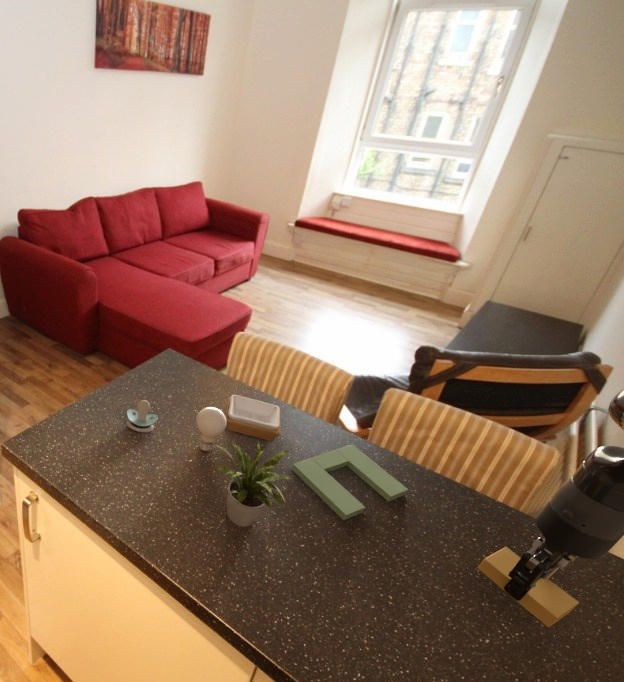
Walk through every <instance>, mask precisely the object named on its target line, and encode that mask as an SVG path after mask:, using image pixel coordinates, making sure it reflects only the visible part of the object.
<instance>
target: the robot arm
mask: <svg viewBox="0 0 624 682" xmlns="http://www.w3.org/2000/svg"><path fill="white" fill-rule="evenodd" d="M608 414H609V417H610V418H611V420H612V421H613V422H614V423H615V424H616V425H617V426H618V427H619V428H620V429H622V430H623V431H624V388H623V389H622V390H620V391H619V392H618V393H616V395H614V397H613V398H612V399H611V401H610V403H609V406H608ZM535 524H536V527H537V528H538V530H539V532H540V533H541V534H542V535H543V538H542V537H541V536H540V537H538V538H537V539H536V540H535V541H534V542H533V543H532V544H531V548H530V549H529V550H528V551H525V552H524V553H522V555H521V556H520V558H521V559H520V560H519V561H518V563H517V564H516V565H515V567H514V568H513V569H512V571H510V572H509V575H508V576H509V577H510V578H511V580H510V581H509V582H508V583H507V584H506V585H505V587H504V590H505V591H506V592H507V593H506V592H505V591H504V590H503V591H504V592H505V593H506V594H507V595H508V596H510V597H511V596H512V597H513V598H512V597H511V598H512V599H514V600H515V601H516V600H517V601H520V600H521V599H523V597H524V596H525V595H526V594H527V593H528V592H529V591H530V590H531V589H532V588H535V587H536V586H537V585H536V584H537V583H538V582H539V581H540V580H541V579H549V580H550V581H551V579H552V578H553V577H554V575H555V574H556V573H557V572H559V571H562V570H564V568H565V569H566V568H568V567H569V566H570V565H572V564H573V563H574V562H575V561H576V560H578V559H579V558H581V559H586V560H599V559H602V558H604V556H606V555H607V554H608V552H610V550H611V549H612V548H613V547H615V545H616V544H617V543H618V542H619V541H620V540H621V539H622V538H623V537H624V447H621V446H618V445H617V446H616V445H603V446H599V447H597V448H595V449H594V450H592V451H591V453H589V454H588V455H587V457H586V458H585V459H584V460H583V462H582V463H581V464H580V466H579V467H578V468H577V469H576V470H575V472H574V473H573V474H572V475H571V476H570V477H569V478H568V479H567V480H566V481H565V482H563V483H561V486H559V488H558V489H557V490H556V491H555V493H554V494H553V495H552V496H551V498H550V499H549V500H548V502H547V503H546V504H545V505H544V506H543V508H542V509H541V511H540V512H539V513H538V514H537V515H536V518H535ZM517 601H516V602H517Z"/></svg>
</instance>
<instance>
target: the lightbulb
mask: <svg viewBox="0 0 624 682" xmlns="http://www.w3.org/2000/svg"><path fill="white" fill-rule="evenodd" d="M195 424H196V425H195V426H196V427H197V430H198V431H199V436H200V437H199V438H200V440H199V444H198V447H199V449H200V450H202V451H204V452H210V451H211V450H212V447H213V444H214V442H215V440H216V438H217V437H219V436H220V435H221V434H223V432H225V430H226V429H227V428H226V417H225V413H224V412H223V410H221V409H219V408H217V407H215V406H207V407H204V408H202V409H201V410H199V412H198V413H197V415H196V419H195ZM211 443H212V444H211Z"/></svg>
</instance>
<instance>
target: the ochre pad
mask: <svg viewBox="0 0 624 682" xmlns="http://www.w3.org/2000/svg"><path fill="white" fill-rule="evenodd" d="M520 559H521V556H519V555H517V554H516V553H515V552H513V550H511V549H510V548H509V547H507V546H504V547H503V548H501V549H499V550H497V551H496V552H494V553H492V554H490V555H489V556H487V557H485V558H484V559H483V560H482V561H481V562H480V564H479V565H478V566H477V570H479V571H480V572H481V573H483V574H484V575H485V576H486V577H487V578H488V579H489V580H491V581H492V582H493V583H495V584H496V585H497V587H499V588H500V589H501V590H503V592H505V593H506V594H508V593H507V592H506V591H505V590H504V587H505V585H506V584H507V583H508V582H509V581H510V580H511V578H510V577H509V576H508V575H509V572H510V571H512V569H513V568H514V567H515V565H516V564H517V563H518V561H519V560H520ZM536 585H537V586H536V587H535V588H532V589H531V590H530V591H529V592H528V593H527V594H526V595H525V596H524V597H523V599H521V600H520V601H517V600H515V601H516V602H517V603H518V604H519V605H521V606H522V607H523V608H524V609H526V610H527V611H528V612H529V613H530V614H531V615H533V616H534V617H535V618H536V619H537V620H539V621H540V622H541V623H542V624H543V625H544V626H546V627H547V628H551V627H552V626H553V625H554V624H556V623H557V622H559V621H560V620H561V619H562V618H564V617H565V616H567V615H569V614H570V613H571V612H572V611H573V610H574V609H575V608H576V607H577V606H578V605H579V604H580V602H579V601H578V600H576V599H575V598H574V597H573V596H571V595H570V594H569V593H567V592H566V591H565V590H564V589H562V588H561V587H559V586H558V585H557V584H556V583H554V582H553V581H552V580H551V579H550V580H549V579H541V580H540V581H539V582H538V583H537V584H536ZM510 597H511V598H512V599H514V598H513V597H512V596H510Z"/></svg>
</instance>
